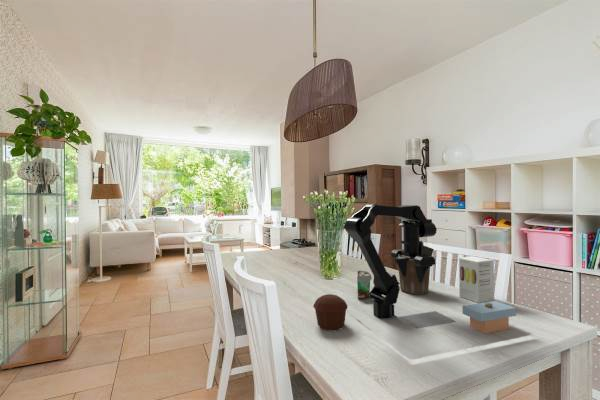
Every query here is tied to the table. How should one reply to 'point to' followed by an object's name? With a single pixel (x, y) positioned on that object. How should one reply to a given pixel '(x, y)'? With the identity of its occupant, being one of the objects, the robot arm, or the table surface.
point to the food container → (363, 284)
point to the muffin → (330, 312)
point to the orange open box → (490, 324)
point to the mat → (426, 319)
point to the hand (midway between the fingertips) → (412, 279)
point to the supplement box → (476, 279)
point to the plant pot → (413, 280)
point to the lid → (489, 311)
